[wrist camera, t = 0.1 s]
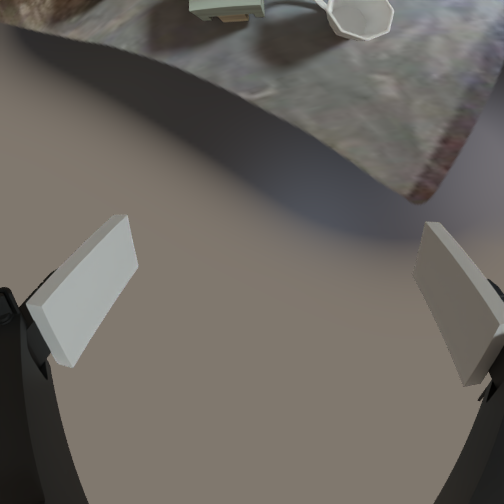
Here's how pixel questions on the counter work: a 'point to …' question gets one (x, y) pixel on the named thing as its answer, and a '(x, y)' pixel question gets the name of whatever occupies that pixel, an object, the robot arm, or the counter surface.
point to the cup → (358, 18)
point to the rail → (226, 9)
